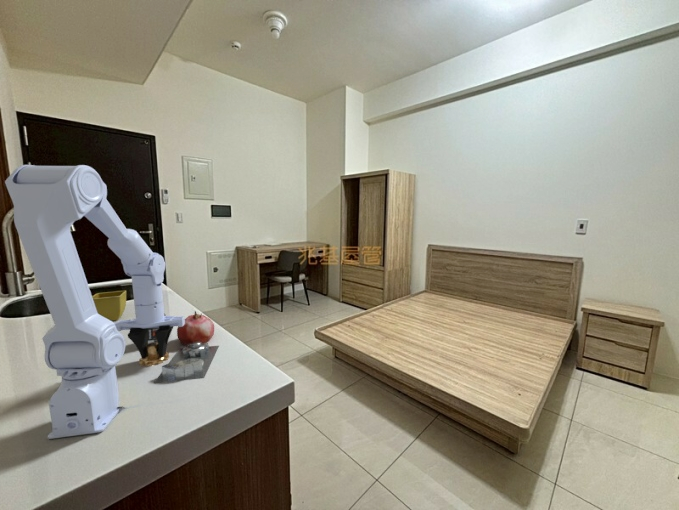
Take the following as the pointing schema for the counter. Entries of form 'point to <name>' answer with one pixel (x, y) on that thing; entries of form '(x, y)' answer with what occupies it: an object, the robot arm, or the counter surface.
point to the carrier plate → (181, 361)
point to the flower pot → (110, 304)
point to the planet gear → (153, 355)
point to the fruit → (196, 329)
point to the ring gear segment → (182, 370)
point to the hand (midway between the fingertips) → (154, 355)
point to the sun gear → (195, 349)
